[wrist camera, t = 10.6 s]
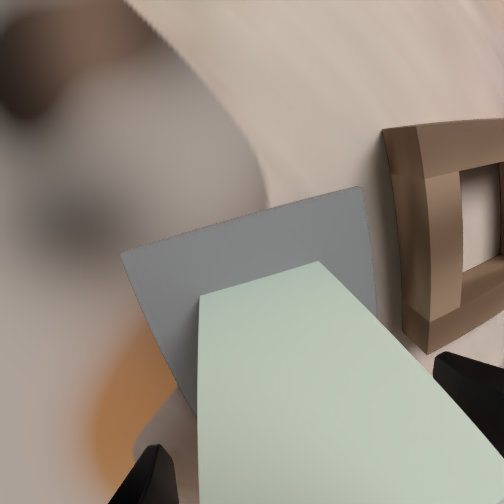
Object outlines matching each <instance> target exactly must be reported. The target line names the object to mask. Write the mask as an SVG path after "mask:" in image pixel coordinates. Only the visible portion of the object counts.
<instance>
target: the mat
mask: <svg viewBox="0 0 504 504" xmlns="http://www.w3.org/2000/svg"><path fill="white" fill-rule="evenodd" d="M120 257H121V259H122V262H123V265H124V268H125V270H126V273H127V275H128V278H129V280H130V283H131V285H132V287H133V290H134V292H135V295H136V297H137V300H138V302H139V304H140V306H141V309H142V311H143V313H144V316H145V318H146V320H147V322H148V325H149V327H150V329H151V331H152V333H153V336H154V338H155V340H156V342H157V344H158V346H159V348H160V350H161V352H162V354H163V356H164V358H165V360H166V362H167V364H168V366H169V368H170V370H171V372H172V374H173V376H174V378H175V380H176V382H177V384H178V386H179V387H180V389H181V391H182V393H183V395H184V397H185V399H186V400H187V402H188V404H189V406H190V407H191V409H192V411H193V413H194V415H195V416H196V418H197V377H198V329H199V302H200V296H201V295H205V294H208V293H212V292H215V291H219V290H222V289H226V288H229V287H233V286H236V285H240V284H243V283H246V282H250V281H253V280H257V279H260V278H264V277H267V276H270V275H274V274H277V273H280V272H284V271H287V270H290V269H294V268H297V267H300V266H303V265H307V264H310V263H313V262H316V261H319V262H320V263H321V264H322V265H323V266H324V267H325V268H326V269H327V270H328V271H330V272H331V273H332V274H333V275H334V276H335V277H336V278H337V279H338V280H339V281H340V282H341V283H342V284H343V285H344V286H345V287H346V288H347V289H348V290H349V291H350V292H351V293H352V294H353V295H354V296H355V297H356V298H357V299H358V300H359V301H360V302H361V303H362V304H363V305H364V306H365V307H366V308H367V309H368V310H369V311H370V312H371V313H372V314H373V315H374V316H375V317H376V318H377V306H376V292H375V280H374V270H373V260H372V251H371V242H370V235H369V227H368V220H367V213H366V207H365V200H364V194H363V188H362V187H358V186H356V187H352V188H348V189H344V190H340V191H336V192H332V193H328V194H324V195H320V196H316V197H312V198H308V199H304V200H300V201H296V202H293V203H289V204H285V205H281V206H278V207H274V208H270V209H266V210H263V211H259V212H255V213H252V214H248V215H245V216H241V217H237V218H234V219H230V220H227V221H223V222H220V223H216V224H213V225H209V226H206V227H202V228H199V229H196V230H192V231H189V232H186V233H182V234H179V235H175V236H172V237H169V238H166V239H162V240H159V241H156V242H152V243H149V244H146V245H143V246H140V247H136V248H133V249H130V250H127V251H124V252H123V253H122V254H121V255H120Z"/></svg>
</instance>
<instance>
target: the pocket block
mask: <svg viewBox="0 0 504 504" xmlns="http://www.w3.org/2000/svg"><path fill="white" fill-rule="evenodd" d="M382 131H383V135H384V140H385V145H386V150H387V156H388V161H389V167H390V173H391V180H392V186H393V193H394V200H395V208H396V217H397V226H398V236H399V248H400V262H401V280H402V331H403V332H404V333H405V334H406V335H407V336H408V337H409V338H410V339H411V340H412V341H413V342H414V343H415V344H416V345H417V346H418V347H419V348H420V349H421V350H422V351H423V352H424V353H425V354H426V355H428V354H430V353H432V352H434V351H436V350H438V349H440V348H442V347H443V346H445V345H447V344H449V343H451V342H452V341H454V340H456V339H458V338H459V337H461V336H463V335H465V334H466V333H468V332H470V331H471V330H473V329H475V328H476V327H478V326H480V325H481V324H483V323H484V322H486V321H487V320H489V319H491V318H492V317H494V316H495V315H497V314H498V313H500V312H501V311H503V310H504V118H496V119H476V120H461V121H449V122H438V123H428V124H419V125H410V126H402V127H395V128H388V129H382ZM494 163H499V174H500V190H501V248H500V254H499V255H497V256H495V257H494V258H492V259H490V260H488V261H486V262H484V263H482V264H480V265H478V266H476V267H474V268H472V269H470V270H468V271H466V272H463V273H462V269H463V221H462V201H461V188H460V177H459V171H462V170H466V169H471V168H475V167H480V166H485V165H489V164H494Z"/></svg>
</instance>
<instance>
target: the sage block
mask: <svg viewBox="0 0 504 504" xmlns="http://www.w3.org/2000/svg"><path fill="white" fill-rule="evenodd" d="M197 429H198V474H199V498H200V504H502V502H504V458H503V457H502V456H501V455H500V454H499V452H498V451H497V450H496V449H495V448H494V446H493V445H492V444H491V443H490V442H489V440H488V439H487V438H486V437H485V436H484V435H483V433H482V432H481V431H480V430H479V429H478V428H477V426H476V425H475V424H474V423H473V422H472V421H471V420H470V418H469V417H468V416H467V415H466V414H465V413H464V412H463V410H462V409H461V408H460V407H459V406H458V405H457V404H456V403H455V402H454V400H453V399H452V398H451V397H450V396H449V395H448V394H447V393H446V392H445V390H444V389H443V388H442V387H441V386H440V385H439V384H438V383H437V382H436V381H435V379H434V378H433V377H432V376H431V375H430V374H429V373H428V372H427V371H426V370H425V369H424V368H423V367H422V365H421V364H420V363H419V362H418V361H417V360H416V359H415V358H414V357H413V356H412V355H411V354H410V353H409V352H408V351H407V350H406V349H405V347H404V346H403V345H402V344H401V343H400V342H399V341H398V340H397V339H396V338H395V337H394V336H393V335H392V334H391V333H390V332H389V331H388V330H387V329H386V328H385V327H384V326H383V325H382V324H381V323H380V322H379V321H378V319H377V318H376V317H375V316H374V315H373V314H372V313H371V312H370V311H369V310H368V309H367V308H366V307H365V306H364V305H363V304H362V303H361V302H360V301H359V300H358V299H357V298H356V297H355V296H354V295H353V294H352V293H351V292H350V291H349V290H348V289H347V288H346V287H345V286H344V285H343V284H342V283H341V282H340V281H339V280H338V279H337V278H336V277H335V276H334V275H333V274H332V273H331V272H330V271H328V270H327V269H326V268H325V267H324V266H323V265H322V264H321V263H320V262H319V261H316V262H313V263H310V264H307V265H303V266H300V267H297V268H294V269H290V270H287V271H284V272H280V273H277V274H274V275H270V276H267V277H264V278H260V279H257V280H253V281H250V282H246V283H243V284H240V285H236V286H233V287H229V288H226V289H222V290H219V291H215V292H212V293H208V294H205V295H201V296H200V302H199V329H198V377H197Z"/></svg>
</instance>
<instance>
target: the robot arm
mask: <svg viewBox="0 0 504 504" xmlns="http://www.w3.org/2000/svg"><path fill="white" fill-rule="evenodd" d="M433 378H434V379H435V381H436V382H437V383H438V384H439V385H440V386H441V387H442V388H443V389H444V390H445V392H446V393H447V394H448V395H449V396H450V397H451V398H452V399H453V400H454V402H455V403H456V404H457V405H458V406H459V407H460V408H461V409H462V410H463V412H464V413H465V414H466V415H467V416H468V417H469V418H470V420H471V421H472V422H473V423H474V424H475V425H476V426H477V428H478V429H479V430H480V431H481V432H482V433H483V435H484V436H485V437H486V438H487V439H488V440H489V442H490V443H491V444H492V445H493V446H494V448H495V449H496V450H497V451H498V452H499V454H500V455H501V456H502V457H503V458H504V369H503V368H500V367H496V366H493V365H490V364H486V363H483V362H480V361H476V360H473V359H470V358H467V357H463V356H460V355H457V354H454V353H451V352H447V351H445V352H443V353H441V354H439V355H437V356H436V357H435V360H434V368H433ZM108 504H179V499H178V492H177V485H176V478H175V471H174V464H173V460H172V458H171V457H170V455H169V454H168V453H167V452H166V450H165V449H164V448H163V447H162V446H161V445H160V444H156V445H149V446H147V447H146V449H145V450H144V452H143V453H142V455H141V456H140V458H139V459H138V461H137V462H136V464H135V465H134V467H133V468H132V469H131V471H130V473H129V474H128V475H127V477H126V478H125V480H124V481H123V483H122V484H121V486H120V487H119V488H118V490H117V491H116V493H115V494H114V496H113V497H112V499H111V500H110V502H109V503H108Z"/></svg>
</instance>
